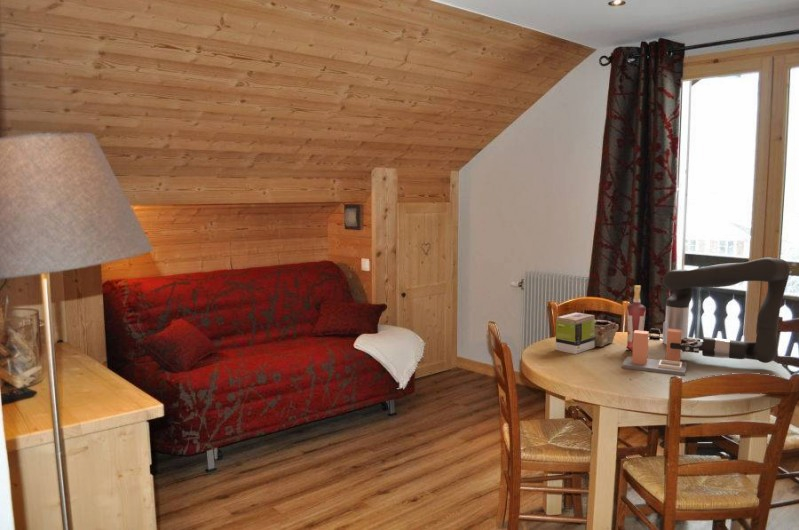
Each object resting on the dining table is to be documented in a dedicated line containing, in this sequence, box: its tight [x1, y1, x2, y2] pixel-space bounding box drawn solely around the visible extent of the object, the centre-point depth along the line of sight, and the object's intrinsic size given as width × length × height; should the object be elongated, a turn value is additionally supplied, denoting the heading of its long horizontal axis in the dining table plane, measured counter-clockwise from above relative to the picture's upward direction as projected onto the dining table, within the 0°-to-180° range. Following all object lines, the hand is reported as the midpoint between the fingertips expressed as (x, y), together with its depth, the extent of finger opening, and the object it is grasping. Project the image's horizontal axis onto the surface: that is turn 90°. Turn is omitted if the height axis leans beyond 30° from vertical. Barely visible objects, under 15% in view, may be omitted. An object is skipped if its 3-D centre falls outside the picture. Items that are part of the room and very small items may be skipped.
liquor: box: [625, 284, 647, 353], centre depth 267 cm, size 7×7×28 cm
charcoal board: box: [621, 330, 688, 377], centre depth 244 cm, size 22×14×13 cm, turn 63°
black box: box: [648, 327, 663, 341], centre depth 292 cm, size 13×8×5 cm, turn 62°
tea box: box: [555, 312, 596, 355], centre depth 271 cm, size 15×10×15 cm, turn 131°
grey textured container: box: [594, 319, 619, 348], centre depth 283 cm, size 13×20×10 cm, turn 133°
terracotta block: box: [665, 329, 682, 362], centre depth 255 cm, size 5×5×12 cm
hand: (671, 343), depth 255 cm, fingers open, 8 cm apart
